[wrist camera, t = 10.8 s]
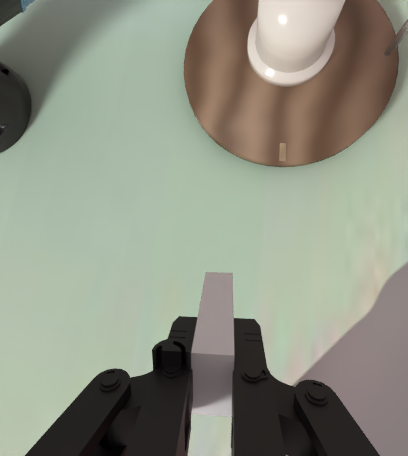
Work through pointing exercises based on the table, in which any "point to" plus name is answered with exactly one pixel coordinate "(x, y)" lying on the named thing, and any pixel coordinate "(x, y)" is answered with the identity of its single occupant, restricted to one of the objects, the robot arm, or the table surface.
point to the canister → (292, 39)
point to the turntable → (289, 96)
